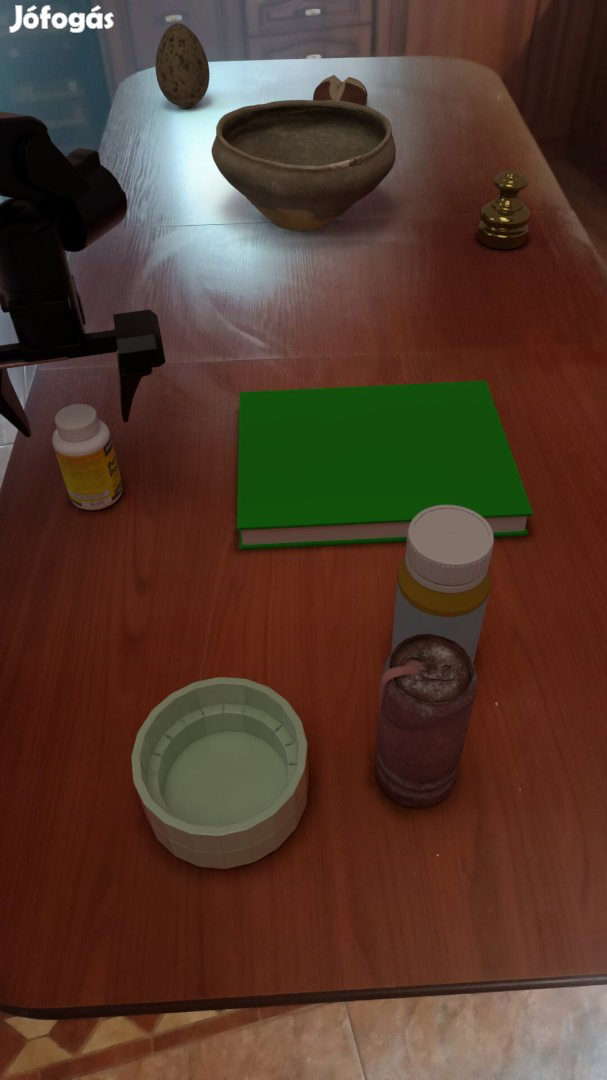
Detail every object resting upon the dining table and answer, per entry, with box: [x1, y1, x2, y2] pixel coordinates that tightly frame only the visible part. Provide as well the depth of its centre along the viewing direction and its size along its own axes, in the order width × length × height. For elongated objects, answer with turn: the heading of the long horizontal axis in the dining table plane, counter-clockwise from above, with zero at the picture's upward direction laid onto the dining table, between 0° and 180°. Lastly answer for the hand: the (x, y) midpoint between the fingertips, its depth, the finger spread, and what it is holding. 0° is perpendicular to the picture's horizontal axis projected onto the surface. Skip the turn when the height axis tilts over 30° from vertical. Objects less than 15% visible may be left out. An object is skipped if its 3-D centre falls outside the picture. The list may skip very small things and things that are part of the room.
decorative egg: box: [154, 22, 211, 109], centre depth 162 cm, size 11×11×15 cm
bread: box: [312, 74, 368, 107], centre depth 163 cm, size 11×11×5 cm
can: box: [374, 634, 479, 809], centre depth 56 cm, size 6×6×14 cm
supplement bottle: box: [51, 403, 124, 511], centre depth 80 cm, size 6×6×10 cm
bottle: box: [391, 505, 495, 664], centre depth 63 cm, size 7×7×15 cm
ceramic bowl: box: [130, 676, 310, 870], centre depth 58 cm, size 12×12×6 cm
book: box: [236, 379, 534, 551], centre depth 85 cm, size 22×28×3 cm
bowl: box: [210, 99, 397, 232], centre depth 124 cm, size 28×28×14 cm
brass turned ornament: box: [477, 169, 532, 250], centre depth 118 cm, size 7×7×10 cm
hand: (77, 427), depth 77 cm, fingers open, 9 cm apart
